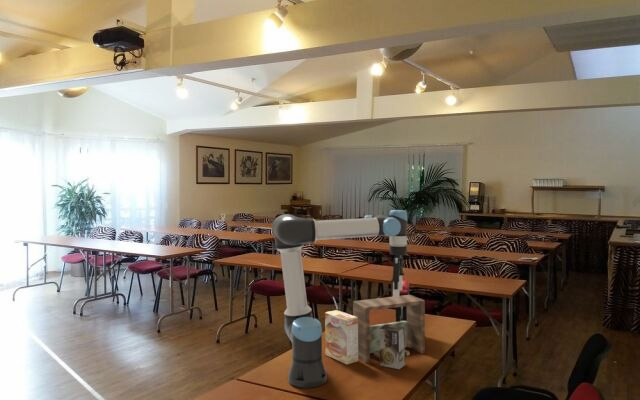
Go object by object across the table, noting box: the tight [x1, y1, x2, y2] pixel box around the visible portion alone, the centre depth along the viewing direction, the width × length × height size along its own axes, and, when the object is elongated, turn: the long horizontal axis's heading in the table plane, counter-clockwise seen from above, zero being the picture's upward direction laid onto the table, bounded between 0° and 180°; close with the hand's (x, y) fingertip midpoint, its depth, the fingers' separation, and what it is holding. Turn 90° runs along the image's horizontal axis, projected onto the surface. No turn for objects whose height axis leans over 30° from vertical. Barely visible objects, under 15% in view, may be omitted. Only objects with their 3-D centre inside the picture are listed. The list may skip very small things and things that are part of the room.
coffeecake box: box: [324, 309, 359, 365], centre depth 210 cm, size 15×7×20 cm, turn 37°
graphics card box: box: [395, 279, 410, 322], centre depth 238 cm, size 17×7×27 cm, turn 168°
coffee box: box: [379, 325, 406, 370], centre depth 201 cm, size 9×6×16 cm
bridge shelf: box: [352, 294, 426, 364], centre depth 215 cm, size 30×12×24 cm, turn 112°
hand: (397, 293), depth 210 cm, fingers open, 13 cm apart
